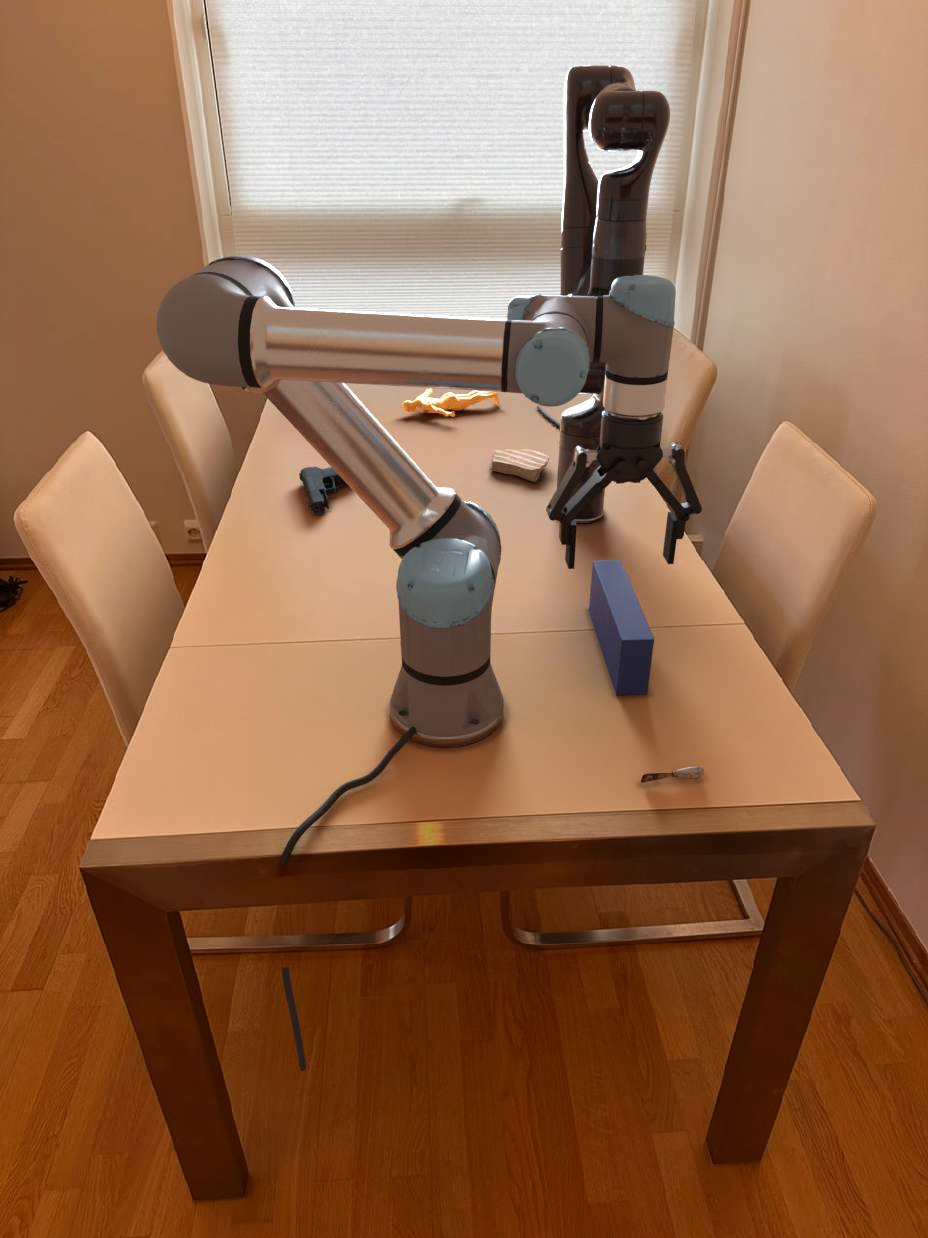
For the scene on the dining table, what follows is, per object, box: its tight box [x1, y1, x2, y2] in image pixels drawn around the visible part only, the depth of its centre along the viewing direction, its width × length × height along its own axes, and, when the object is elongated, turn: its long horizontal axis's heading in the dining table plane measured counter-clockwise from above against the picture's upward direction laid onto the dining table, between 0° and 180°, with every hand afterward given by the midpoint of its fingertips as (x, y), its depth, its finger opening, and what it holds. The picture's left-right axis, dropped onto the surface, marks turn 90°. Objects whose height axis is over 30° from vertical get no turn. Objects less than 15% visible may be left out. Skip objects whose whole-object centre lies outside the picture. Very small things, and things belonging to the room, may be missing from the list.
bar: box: [588, 559, 655, 696], centre depth 131 cm, size 23×4×9 cm, turn 3°
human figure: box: [402, 388, 500, 418], centre depth 225 cm, size 20×20×4 cm
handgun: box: [298, 466, 349, 515], centre depth 181 cm, size 3×18×12 cm
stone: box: [489, 448, 550, 483], centre depth 192 cm, size 13×12×2 cm
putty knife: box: [640, 765, 705, 784], centre depth 109 cm, size 1×8×2 cm, turn 103°
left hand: (618, 562), depth 121 cm, fingers open, 13 cm apart
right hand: (609, 364), depth 137 cm, fingers open, 8 cm apart
